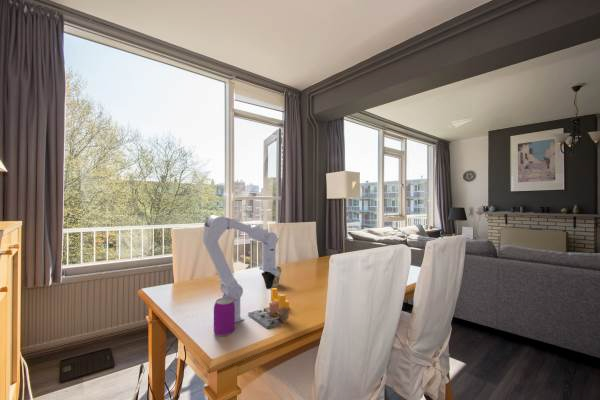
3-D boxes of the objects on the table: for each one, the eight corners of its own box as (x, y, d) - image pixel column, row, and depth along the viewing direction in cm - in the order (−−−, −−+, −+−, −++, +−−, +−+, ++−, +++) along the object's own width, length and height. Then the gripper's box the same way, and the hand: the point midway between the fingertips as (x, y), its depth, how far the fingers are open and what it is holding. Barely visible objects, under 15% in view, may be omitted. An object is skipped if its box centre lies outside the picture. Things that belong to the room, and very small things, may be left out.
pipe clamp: (289, 308, 133) (289, 294, 133) (280, 310, 131) (280, 296, 131) (279, 300, 143) (279, 287, 143) (271, 301, 141) (271, 288, 141)
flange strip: (267, 328, 112) (267, 324, 112) (248, 315, 124) (248, 311, 124) (280, 324, 115) (280, 320, 115) (260, 312, 128) (260, 308, 128)
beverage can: (235, 327, 113) (235, 296, 113) (233, 336, 105) (234, 303, 105) (215, 328, 112) (215, 297, 112) (212, 337, 104) (212, 304, 104)
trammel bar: (269, 327, 113) (269, 313, 113) (250, 315, 124) (250, 302, 124) (288, 321, 118) (288, 308, 118) (269, 310, 130) (269, 298, 130)
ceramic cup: (280, 288, 162) (280, 270, 162) (263, 287, 163) (263, 270, 163) (282, 281, 175) (282, 264, 175) (266, 281, 176) (266, 264, 176)
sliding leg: (260, 317, 118) (260, 307, 118) (257, 315, 120) (257, 306, 120) (279, 312, 124) (279, 302, 124) (276, 310, 125) (276, 301, 125)
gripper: (285, 260, 126) (285, 291, 126) (268, 254, 138) (268, 283, 138) (271, 262, 122) (271, 294, 122) (255, 256, 134) (255, 285, 134)
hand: (268, 288), depth 130 cm, fingers closed
